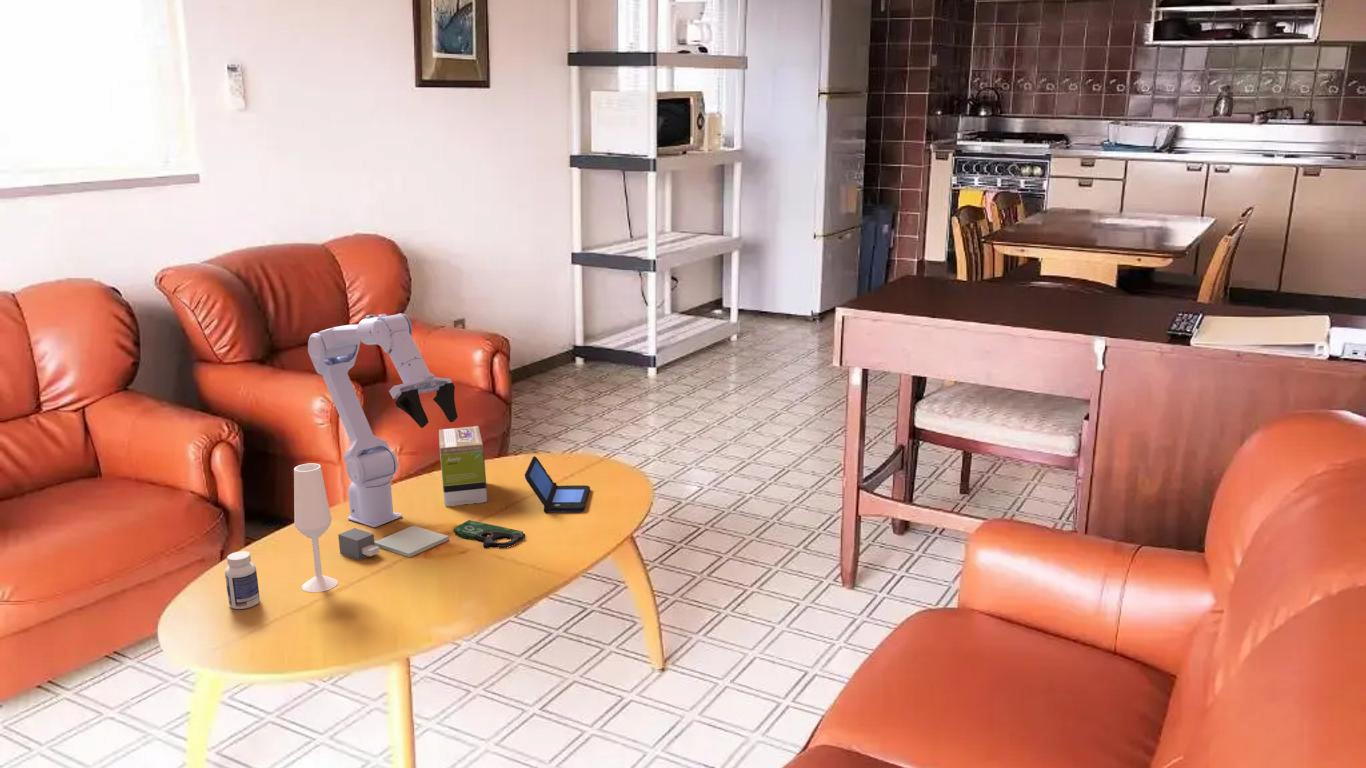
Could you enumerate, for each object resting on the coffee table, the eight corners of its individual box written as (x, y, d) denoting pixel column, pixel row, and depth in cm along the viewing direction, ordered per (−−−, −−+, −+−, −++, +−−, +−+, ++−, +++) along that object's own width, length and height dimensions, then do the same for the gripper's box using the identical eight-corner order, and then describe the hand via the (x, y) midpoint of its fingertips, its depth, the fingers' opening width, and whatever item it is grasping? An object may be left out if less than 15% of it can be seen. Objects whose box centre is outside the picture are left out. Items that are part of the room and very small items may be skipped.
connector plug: (340, 554, 225) (338, 534, 224) (356, 547, 228) (354, 527, 227) (366, 563, 220) (365, 543, 219) (383, 556, 223) (381, 536, 222)
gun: (440, 534, 232) (470, 518, 240) (441, 540, 232) (471, 524, 241) (501, 547, 224) (530, 531, 233) (502, 554, 225) (530, 537, 233)
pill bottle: (266, 599, 204) (260, 551, 202) (246, 611, 199) (240, 562, 197) (243, 595, 206) (237, 548, 204) (222, 607, 201) (216, 559, 199)
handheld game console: (584, 514, 245) (582, 475, 243) (525, 514, 245) (523, 475, 243) (590, 490, 260) (589, 453, 258) (535, 490, 260) (533, 453, 258)
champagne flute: (298, 593, 207) (285, 474, 200) (305, 578, 213) (292, 462, 207) (335, 590, 207) (322, 472, 201) (340, 576, 214) (328, 460, 208)
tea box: (442, 486, 264) (437, 428, 260) (484, 482, 266) (480, 424, 262) (444, 507, 250) (439, 446, 246) (488, 503, 252) (484, 442, 248)
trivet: (373, 545, 228) (373, 542, 228) (413, 528, 237) (413, 525, 237) (409, 557, 222) (408, 553, 222) (449, 539, 231) (448, 536, 231)
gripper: (391, 358, 213) (421, 417, 210) (448, 352, 225) (477, 407, 221) (374, 378, 217) (403, 435, 214) (430, 370, 229) (459, 425, 225)
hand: (439, 422), depth 218 cm, fingers open, 7 cm apart
